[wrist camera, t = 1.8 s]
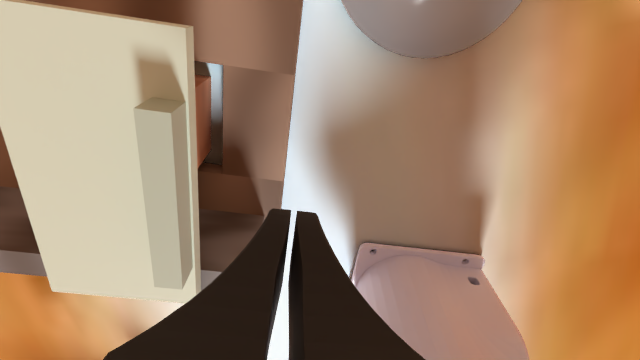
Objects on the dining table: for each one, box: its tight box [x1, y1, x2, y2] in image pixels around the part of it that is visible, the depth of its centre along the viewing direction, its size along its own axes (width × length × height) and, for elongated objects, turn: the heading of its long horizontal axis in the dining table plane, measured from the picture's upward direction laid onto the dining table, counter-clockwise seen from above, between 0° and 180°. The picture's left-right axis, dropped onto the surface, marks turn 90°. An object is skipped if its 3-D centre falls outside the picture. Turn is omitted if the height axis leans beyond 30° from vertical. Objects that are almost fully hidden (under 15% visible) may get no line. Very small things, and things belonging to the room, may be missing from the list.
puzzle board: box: [0, 0, 303, 291], centre depth 17 cm, size 26×15×7 cm, turn 82°
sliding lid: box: [0, 0, 201, 304], centre depth 14 cm, size 7×13×2 cm, turn 172°
